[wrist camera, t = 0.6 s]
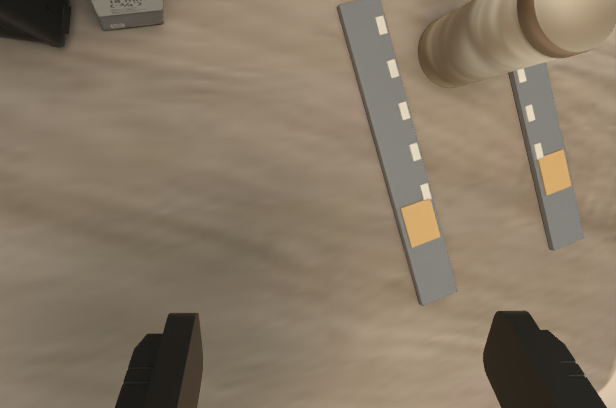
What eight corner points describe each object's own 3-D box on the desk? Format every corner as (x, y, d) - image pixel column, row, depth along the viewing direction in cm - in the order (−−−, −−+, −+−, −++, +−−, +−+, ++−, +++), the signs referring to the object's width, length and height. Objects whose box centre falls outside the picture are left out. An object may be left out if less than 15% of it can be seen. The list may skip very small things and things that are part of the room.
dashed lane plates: (336, 7, 34) (340, 4, 33) (518, -39, 37) (525, -43, 37) (419, 304, 37) (424, 306, 36) (579, 237, 41) (586, 238, 40)
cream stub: (409, 26, 35) (525, -42, 24) (470, 9, 37) (609, -63, 25) (427, 96, 36) (549, 63, 25) (486, 78, 37) (628, 38, 26)
